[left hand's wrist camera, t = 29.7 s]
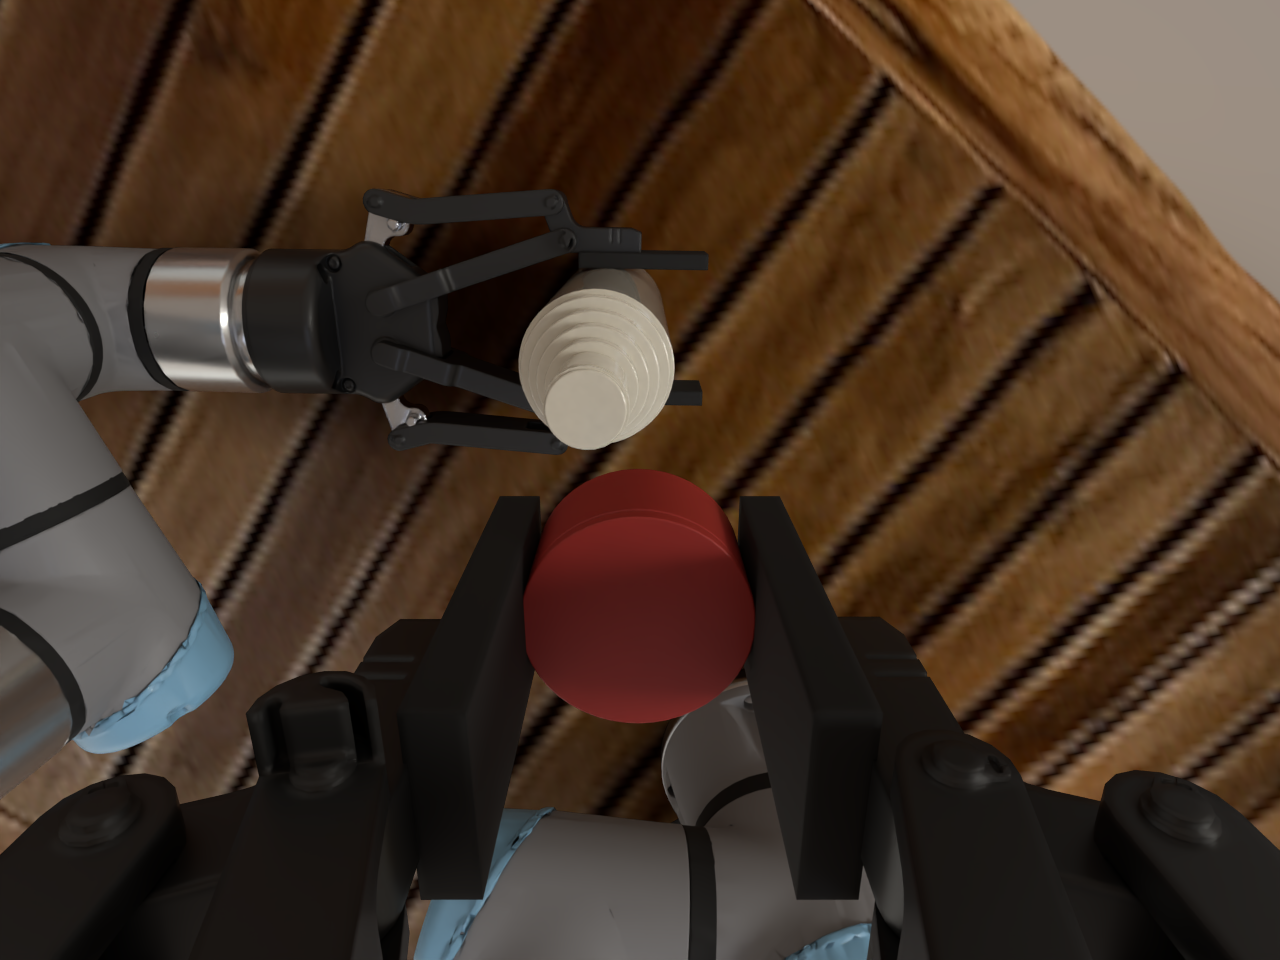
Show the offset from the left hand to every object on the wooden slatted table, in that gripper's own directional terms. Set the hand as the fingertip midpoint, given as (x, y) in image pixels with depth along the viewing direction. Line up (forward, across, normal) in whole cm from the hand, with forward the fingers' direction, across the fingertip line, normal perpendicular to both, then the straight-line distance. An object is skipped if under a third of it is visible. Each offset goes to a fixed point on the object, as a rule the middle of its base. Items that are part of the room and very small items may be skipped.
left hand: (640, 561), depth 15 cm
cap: (-2, 0, 0) cm, 2 cm away
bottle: (+34, +2, 0) cm, 34 cm away
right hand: (+28, -3, 0) cm, 28 cm away
